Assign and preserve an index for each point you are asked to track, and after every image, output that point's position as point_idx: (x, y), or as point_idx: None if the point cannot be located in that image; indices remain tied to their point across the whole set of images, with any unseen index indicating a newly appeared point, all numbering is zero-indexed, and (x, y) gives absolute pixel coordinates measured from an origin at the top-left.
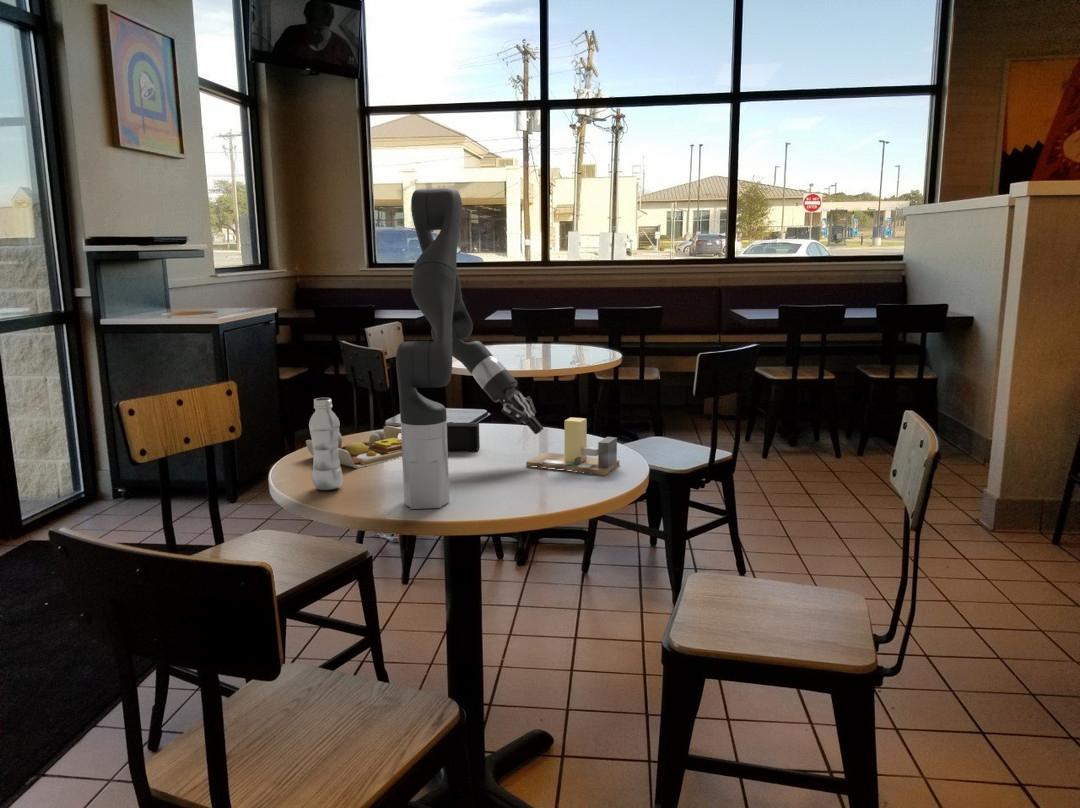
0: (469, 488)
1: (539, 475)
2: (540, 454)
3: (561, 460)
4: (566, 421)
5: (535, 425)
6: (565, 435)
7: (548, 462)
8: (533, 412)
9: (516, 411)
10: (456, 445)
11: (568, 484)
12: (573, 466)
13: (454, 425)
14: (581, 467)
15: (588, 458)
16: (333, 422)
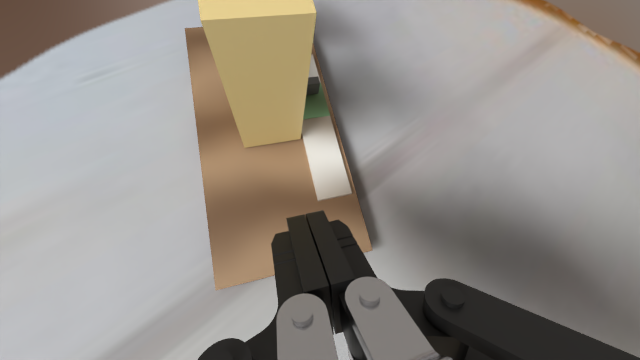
0: (613, 238)
1: (408, 160)
2: (255, 276)
3: (285, 161)
4: (313, 6)
5: (342, 238)
6: (307, 75)
7: (344, 172)
8: (249, 355)
9: (593, 344)
10: None
11: (415, 66)
12: (323, 97)
13: None
14: (318, 76)
15: (213, 105)
16: None
